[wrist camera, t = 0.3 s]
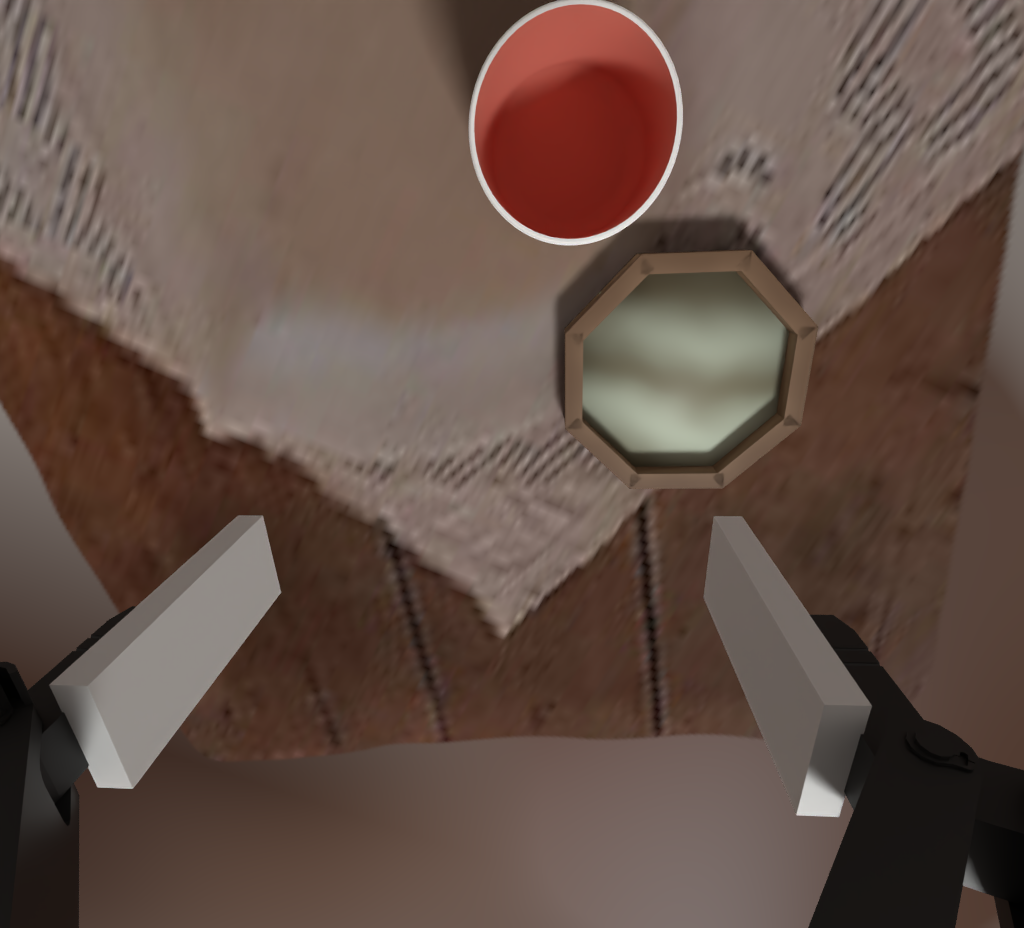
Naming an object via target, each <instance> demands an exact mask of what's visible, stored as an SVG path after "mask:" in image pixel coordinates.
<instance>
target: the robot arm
mask: <svg viewBox="0 0 1024 928" xmlns="http://www.w3.org/2000/svg"><path fill="white" fill-rule="evenodd" d="M280 593H281V591H280V586H279V582H278V578H277V574H276V569H275V565H274V561H273V557H272V553H271V548H270V544H269V540H268V536H267V532H266V527H265V523H264V519H263V516H237V517H236V518H235V519H234V520H233V521H231V522H230V523H229V524H228V525H227V526H226V527H225V528H224V529H223V530H221V531H220V532H219V533H218V534H217V535H216V536H215V537H214V538H213V539H211V540H210V541H209V542H208V543H207V544H206V545H205V546H204V547H202V548H201V549H200V550H199V551H198V552H197V553H196V554H195V555H194V556H192V557H191V558H190V559H189V560H188V561H187V562H186V563H185V564H183V565H182V566H181V567H180V568H179V569H178V570H177V571H176V572H175V573H173V574H172V575H171V576H170V577H169V578H168V579H167V580H166V581H165V582H163V583H162V584H161V585H160V586H159V587H158V588H157V589H156V590H154V591H153V592H152V593H151V594H150V595H149V596H148V597H147V598H146V599H144V600H143V601H142V602H141V603H140V604H139V605H138V606H137V607H134V606H132V607H130V608H129V609H127V610H125V611H123V612H122V613H120V614H118V615H116V616H115V617H113V618H111V619H109V620H108V621H107V622H106V623H105V624H104V625H103V626H101V627H100V628H99V629H98V630H97V631H96V632H95V633H93V634H92V635H91V638H88V639H86V640H85V641H84V642H83V643H82V644H81V645H79V646H78V647H77V650H76V651H72V652H71V653H70V654H69V655H68V656H67V657H66V658H64V659H63V660H62V661H61V662H60V663H59V664H58V665H57V666H55V667H54V668H53V669H52V670H51V671H50V672H49V673H47V674H46V675H45V676H44V677H43V678H41V679H40V680H39V681H38V682H37V683H36V684H35V685H33V686H32V687H31V688H30V689H29V690H27V688H26V686H25V684H24V682H23V680H22V678H21V676H20V674H19V672H18V670H17V668H16V666H15V665H14V664H11V663H9V662H0V928H79V794H78V791H77V789H76V787H75V785H74V782H75V781H76V780H77V779H78V778H79V776H80V775H81V774H82V773H83V772H84V771H85V770H86V768H87V767H88V768H89V770H90V772H91V774H92V776H93V779H94V781H95V783H96V785H97V787H102V788H127V789H133V788H134V787H135V785H136V784H137V783H138V781H139V780H140V779H141V777H142V776H143V775H144V773H145V772H146V771H147V769H148V768H149V767H150V765H151V764H152V763H153V761H154V760H155V758H156V757H157V756H158V755H159V753H160V752H161V751H162V749H163V748H164V747H165V746H166V744H167V743H168V742H169V740H170V739H171V738H172V736H173V735H174V734H175V732H176V731H177V729H178V728H179V727H180V726H181V724H182V723H183V722H184V720H185V719H186V718H187V716H188V715H189V714H190V712H191V711H192V710H193V708H194V707H195V706H196V704H197V703H198V702H199V700H200V699H201V698H202V697H203V695H204V694H205V693H206V691H207V690H208V689H209V687H210V686H211V685H212V683H213V682H214V681H215V679H216V678H217V677H218V675H219V674H220V673H221V671H222V670H223V669H224V667H225V666H226V665H227V663H228V662H229V661H230V659H231V658H232V657H233V655H234V654H235V653H236V651H237V650H238V649H239V647H240V646H241V645H242V644H243V642H244V641H245V640H246V638H247V637H248V636H249V634H250V633H251V632H252V630H253V629H254V628H255V626H256V625H257V624H258V622H259V621H260V620H261V618H262V617H263V616H264V614H265V613H266V612H267V610H268V609H269V608H270V606H271V605H272V604H273V602H274V601H275V600H276V598H277V597H278V596H279V594H280ZM704 600H705V602H706V604H707V607H708V609H709V611H710V614H711V616H712V618H713V621H714V623H715V625H716V628H717V630H718V632H719V635H720V637H721V640H722V642H723V644H724V647H725V649H726V651H727V654H728V656H729V658H730V661H731V663H732V665H733V668H734V670H735V672H736V675H737V677H738V679H739V682H740V684H741V686H742V689H743V691H744V693H745V696H746V698H747V701H748V703H749V705H750V708H751V710H752V712H753V715H754V717H755V719H756V722H757V724H758V726H759V729H760V731H761V733H762V736H763V738H764V740H765V743H766V745H767V747H768V749H769V752H770V754H771V757H772V759H773V761H774V764H775V766H776V768H777V771H778V773H779V775H780V778H781V780H782V783H783V785H784V787H785V790H786V792H787V794H788V797H789V799H790V801H791V804H792V806H793V808H794V811H795V813H796V815H804V816H806V815H807V816H829V817H839V815H840V812H841V808H842V805H843V801H844V798H845V795H846V796H847V798H848V800H849V802H850V804H851V806H852V808H853V809H854V812H853V814H852V817H851V819H850V822H849V825H848V827H847V830H846V832H845V835H844V837H843V840H842V843H841V845H840V848H839V850H838V853H837V855H836V858H835V861H834V863H833V866H832V868H831V871H830V873H829V876H828V879H827V881H826V884H825V886H824V889H823V891H822V894H821V896H820V899H819V902H818V904H817V907H816V909H815V912H814V914H813V917H812V920H811V922H810V925H809V927H808V928H955V925H956V920H957V913H958V908H959V903H960V898H961V892H962V887H963V886H966V887H969V888H972V889H975V890H977V891H981V892H983V893H986V894H989V895H992V896H994V899H995V903H996V909H997V913H998V919H999V923H1000V928H1024V770H1021V769H1017V768H1013V767H1009V766H1006V765H1002V764H998V763H995V762H991V761H988V760H985V759H982V758H979V757H978V756H977V755H976V753H975V752H974V750H973V749H972V748H971V747H970V746H969V745H968V744H967V743H965V742H964V741H963V740H962V739H961V738H960V737H958V736H957V735H956V734H954V733H952V732H950V731H949V730H947V729H945V728H943V727H942V726H940V725H937V724H934V723H931V722H929V721H926V720H923V718H922V717H921V716H920V715H919V713H918V712H917V711H916V709H915V708H914V707H913V706H912V704H911V703H910V702H909V700H908V699H907V698H906V696H905V695H904V694H903V693H902V691H901V690H900V689H899V687H898V686H897V685H896V684H895V682H894V681H893V680H892V678H891V677H890V676H889V674H888V673H887V672H886V671H885V669H884V668H883V667H882V666H880V665H879V662H878V660H877V659H876V658H875V656H874V655H873V654H872V652H869V651H868V647H867V646H866V645H865V643H864V642H863V641H862V640H861V638H860V637H859V636H858V634H857V633H856V632H855V630H853V629H852V628H850V627H849V626H848V625H846V624H845V623H843V622H842V621H841V620H839V619H838V618H837V617H835V616H834V615H809V613H808V612H807V611H806V609H805V608H804V606H803V605H802V603H801V602H800V600H799V599H798V597H797V596H796V594H795V593H794V592H793V590H792V589H791V587H790V586H789V584H788V583H787V581H786V580H785V578H784V577H783V576H782V574H781V573H780V571H779V570H778V568H777V567H776V565H775V564H774V562H773V561H772V560H771V558H770V557H769V555H768V554H767V552H766V551H765V549H764V548H763V546H762V545H761V543H760V542H759V541H758V539H757V538H756V536H755V535H754V533H753V532H752V530H751V529H750V527H749V526H748V525H747V523H746V522H745V520H744V519H743V517H742V516H714V519H713V527H712V535H711V543H710V551H709V559H708V567H707V575H706V583H705V591H704Z"/></svg>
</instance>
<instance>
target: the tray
mask: <svg viewBox="0 0 1024 928" xmlns="http://www.w3.org/2000/svg"><path fill="white" fill-rule="evenodd" d="M817 331H818V326H817V325H816V324H815V323H814V321H813V320H812V319H811V318H810V317H809V316H808V314H807V313H806V312H805V311H804V310H803V309H802V308H801V306H800V305H799V304H798V303H797V302H796V301H795V299H794V298H793V297H792V296H791V295H790V294H789V293H788V291H787V290H786V289H785V288H784V287H783V286H782V284H781V283H780V282H779V281H778V280H777V279H776V278H775V276H774V275H773V274H772V273H771V272H770V271H769V269H768V268H767V267H766V266H765V265H764V264H763V263H762V261H761V260H760V259H759V258H758V257H757V256H756V254H755V253H754V252H753V251H752V250H718V251H692V252H665V253H639V254H636V255H635V256H634V257H633V258H632V259H631V260H630V261H629V262H628V263H627V264H626V265H625V266H624V267H623V268H622V269H621V270H620V271H619V273H618V274H617V275H616V276H615V277H614V278H613V279H612V280H611V281H610V282H609V283H608V284H607V285H606V286H605V287H604V288H603V289H602V290H601V291H600V292H599V293H598V294H597V295H596V297H595V298H594V299H593V300H592V301H591V302H590V303H589V304H588V305H587V306H586V307H585V308H584V309H583V310H582V311H581V312H580V313H579V314H578V315H577V316H576V317H575V318H574V319H573V320H572V322H571V323H570V324H569V325H568V326H567V327H566V328H565V429H566V430H567V431H568V432H569V433H570V434H571V435H572V436H574V437H575V438H576V439H577V440H578V441H579V442H580V443H581V444H582V445H583V446H584V447H585V448H586V449H588V450H589V451H590V452H591V453H592V454H593V455H594V456H595V457H596V458H597V459H598V460H599V461H600V462H602V463H603V464H604V465H605V466H606V467H607V468H608V469H609V470H610V471H611V472H612V473H613V474H614V475H616V476H617V477H618V478H619V479H620V480H621V481H622V482H623V483H624V484H625V485H626V486H627V487H628V488H630V489H682V488H724V487H725V486H726V485H727V484H729V483H730V482H731V481H732V480H734V479H735V478H736V477H737V476H739V475H740V474H741V473H742V472H743V471H745V470H746V469H747V468H748V467H750V466H751V465H752V464H753V463H755V462H756V461H757V460H758V459H760V458H761V457H762V456H763V455H765V454H766V453H767V452H768V451H770V450H771V449H772V448H773V447H775V446H776V445H777V444H778V443H780V442H781V441H782V440H783V439H785V438H786V437H787V436H788V435H790V434H791V433H792V432H793V431H795V430H796V429H797V428H798V427H800V426H801V422H802V416H803V410H804V405H805V399H806V393H807V388H808V382H809V376H810V370H811V365H812V359H813V353H814V348H815V342H816V336H817Z"/></svg>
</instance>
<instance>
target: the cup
mask: <svg viewBox="0 0 1024 928" xmlns="http://www.w3.org/2000/svg"><path fill="white" fill-rule="evenodd" d="M682 125H683V105H682V94H681V89H680V84H679V79H678V76H677V73H676V70H675V67H674V64H673V62H672V60H671V58H670V55H669V53H668V51H667V50H666V48H665V46H664V45H663V43H662V42H661V40H660V39H659V37H658V36H657V35H656V34H655V32H654V31H653V30H652V29H651V28H650V27H649V26H648V25H647V24H646V23H645V22H644V21H643V20H642V19H640V18H639V17H638V16H637V15H635V14H634V13H632V12H631V11H629V10H627V9H626V8H624V7H622V6H620V5H617V4H615V3H612V2H609V1H606V0H557V1H554V2H550V3H548V4H545V5H543V6H540V7H539V8H537V9H535V10H533V11H531V12H529V13H528V14H526V15H525V16H523V17H522V18H521V19H519V20H518V21H517V22H516V23H514V24H513V25H512V26H511V27H510V28H509V29H508V30H507V31H506V32H505V33H504V34H503V36H502V37H501V38H500V39H499V40H498V42H497V43H496V44H495V46H494V47H493V48H492V50H491V52H490V53H489V55H488V56H487V58H486V60H485V62H484V64H483V66H482V68H481V71H480V73H479V75H478V78H477V81H476V84H475V87H474V91H473V94H472V99H471V105H470V111H469V145H470V152H471V157H472V161H473V165H474V168H475V171H476V174H477V177H478V180H479V182H480V184H481V186H482V188H483V190H484V192H485V194H486V196H487V197H488V199H489V200H490V202H491V203H492V205H493V206H494V207H495V209H496V210H497V211H498V212H499V213H500V214H501V215H502V216H503V217H504V218H505V219H506V220H507V221H508V222H509V223H510V224H511V225H513V226H514V227H515V228H517V229H518V230H520V231H521V232H523V233H525V234H527V235H529V236H531V237H533V238H535V239H538V240H540V241H544V242H547V243H552V244H558V245H582V244H588V243H592V242H596V241H600V240H602V239H605V238H608V237H610V236H612V235H614V234H616V233H618V232H620V231H621V230H623V229H624V228H626V227H627V226H629V225H630V224H631V223H633V222H634V221H635V220H636V219H638V218H639V217H640V216H641V215H642V214H643V213H644V212H645V211H646V210H647V209H648V208H649V206H650V205H651V204H652V203H653V202H654V200H655V199H656V197H657V196H658V195H659V193H660V192H661V190H662V188H663V187H664V185H665V183H666V181H667V179H668V177H669V175H670V173H671V171H672V168H673V166H674V163H675V160H676V157H677V154H678V150H679V145H680V141H681V134H682Z"/></svg>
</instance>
